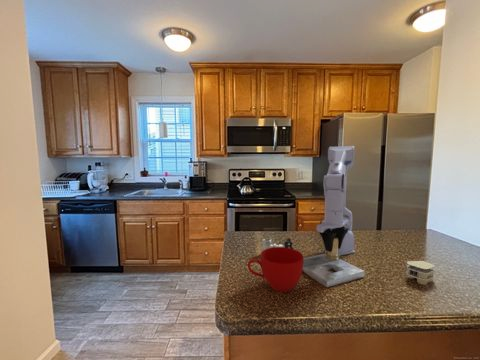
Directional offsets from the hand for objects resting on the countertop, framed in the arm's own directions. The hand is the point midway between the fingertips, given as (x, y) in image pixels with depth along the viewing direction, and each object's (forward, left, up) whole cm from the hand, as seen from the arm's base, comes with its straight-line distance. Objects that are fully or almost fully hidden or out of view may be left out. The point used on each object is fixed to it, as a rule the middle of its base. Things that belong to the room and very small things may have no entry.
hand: (332, 249), depth 81 cm
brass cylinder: (0, -1, -3) cm, 3 cm away
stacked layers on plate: (-22, +15, -9) cm, 28 cm away
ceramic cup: (+22, -1, -9) cm, 24 cm away
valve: (+8, -22, -9) cm, 25 cm away
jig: (0, 0, -8) cm, 8 cm away
